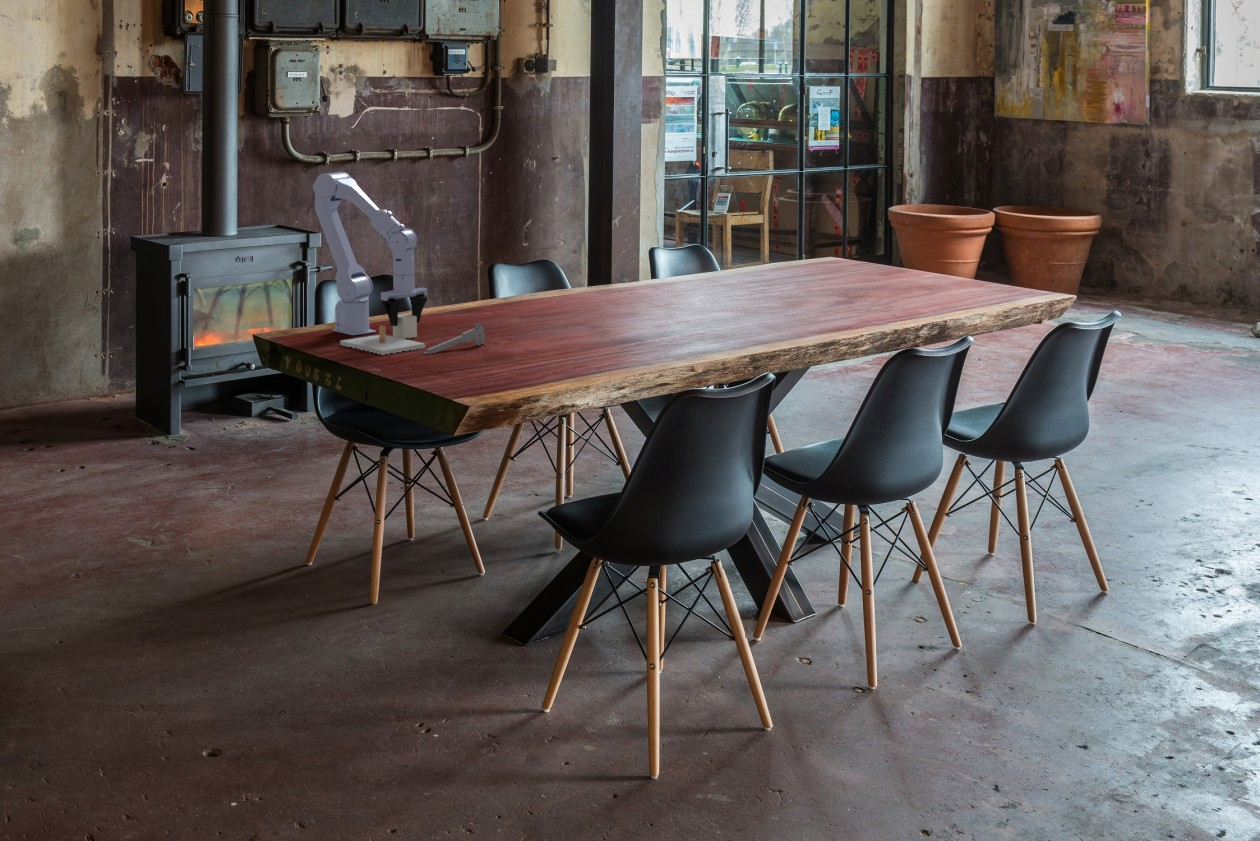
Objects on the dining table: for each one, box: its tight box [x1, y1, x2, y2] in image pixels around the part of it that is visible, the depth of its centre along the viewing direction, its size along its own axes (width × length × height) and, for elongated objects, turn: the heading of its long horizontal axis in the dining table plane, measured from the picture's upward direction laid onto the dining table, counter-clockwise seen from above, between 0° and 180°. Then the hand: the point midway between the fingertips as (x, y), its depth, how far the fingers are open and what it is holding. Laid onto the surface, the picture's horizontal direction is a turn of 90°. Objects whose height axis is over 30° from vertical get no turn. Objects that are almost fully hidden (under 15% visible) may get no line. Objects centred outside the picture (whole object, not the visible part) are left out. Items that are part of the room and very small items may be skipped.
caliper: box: [423, 322, 486, 355], centre depth 368 cm, size 20×1×6 cm, turn 138°
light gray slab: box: [339, 325, 426, 356], centre depth 369 cm, size 18×14×6 cm
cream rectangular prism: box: [392, 313, 418, 340], centre depth 383 cm, size 5×5×6 cm
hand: (405, 323), depth 383 cm, fingers open, 7 cm apart
